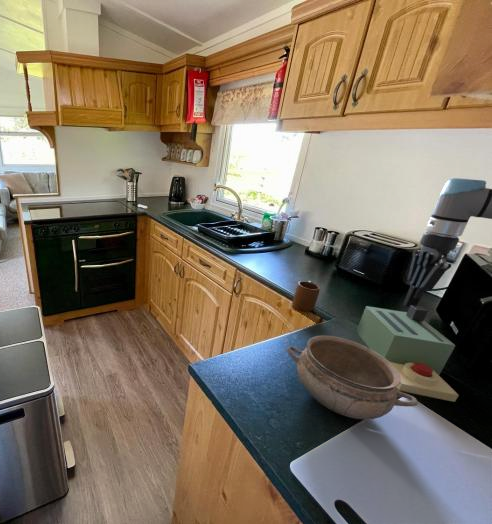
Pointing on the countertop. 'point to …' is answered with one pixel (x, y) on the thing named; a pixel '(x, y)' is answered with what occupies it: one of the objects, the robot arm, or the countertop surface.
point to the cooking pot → (349, 377)
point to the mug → (306, 296)
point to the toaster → (403, 338)
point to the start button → (422, 369)
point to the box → (424, 383)
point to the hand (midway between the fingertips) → (409, 305)
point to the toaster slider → (417, 313)
